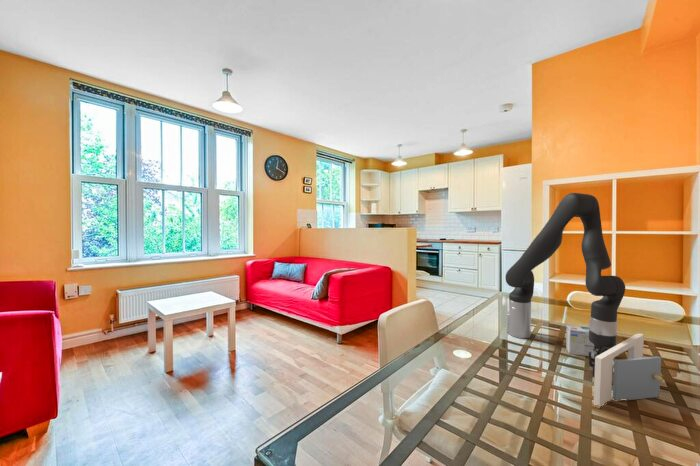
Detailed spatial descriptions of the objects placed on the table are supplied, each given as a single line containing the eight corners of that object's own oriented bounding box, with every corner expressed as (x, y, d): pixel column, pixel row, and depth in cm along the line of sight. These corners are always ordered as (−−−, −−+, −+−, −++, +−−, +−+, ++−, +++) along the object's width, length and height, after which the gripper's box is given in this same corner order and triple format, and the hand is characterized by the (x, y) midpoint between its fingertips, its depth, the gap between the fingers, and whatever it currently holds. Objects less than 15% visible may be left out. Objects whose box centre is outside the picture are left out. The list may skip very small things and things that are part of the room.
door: (612, 399, 93) (614, 360, 92) (655, 394, 94) (657, 356, 93) (620, 404, 90) (622, 364, 89) (665, 400, 92) (667, 360, 91)
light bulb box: (595, 351, 124) (596, 326, 123) (601, 358, 118) (602, 333, 117) (565, 346, 128) (565, 323, 127) (568, 354, 122) (569, 329, 121)
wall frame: (593, 405, 91) (595, 357, 89) (636, 375, 106) (638, 332, 104) (599, 408, 89) (601, 359, 88) (641, 377, 104) (643, 334, 103)
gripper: (599, 322, 110) (597, 364, 112) (580, 331, 104) (578, 376, 105) (625, 329, 104) (622, 374, 105) (606, 339, 97) (603, 387, 99)
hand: (600, 375), depth 105 cm, fingers closed on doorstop, 5 cm apart
